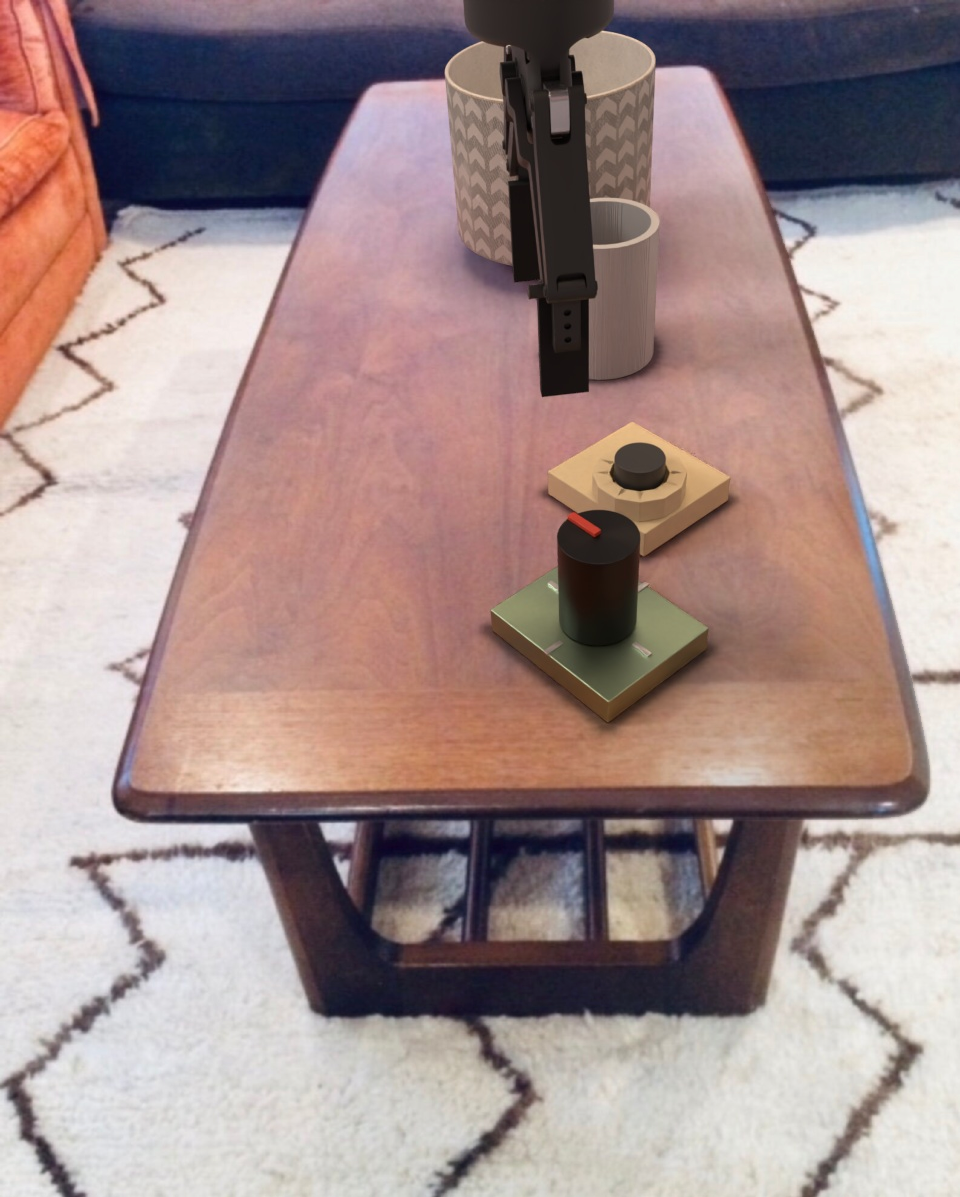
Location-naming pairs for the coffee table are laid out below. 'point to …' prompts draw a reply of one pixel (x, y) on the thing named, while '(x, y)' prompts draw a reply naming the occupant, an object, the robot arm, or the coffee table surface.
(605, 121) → the planter
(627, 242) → the cup
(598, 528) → the knob
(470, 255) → the coffee table surface
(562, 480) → the button box
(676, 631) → the dial panel
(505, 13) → the robot arm
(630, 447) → the button
